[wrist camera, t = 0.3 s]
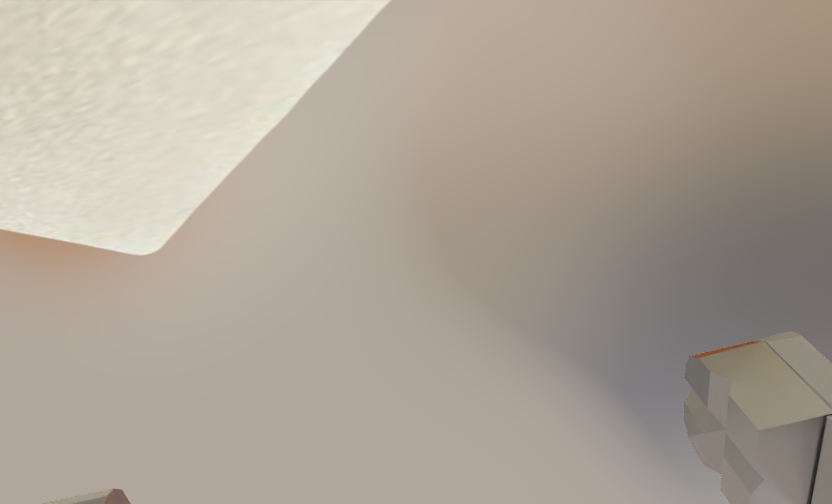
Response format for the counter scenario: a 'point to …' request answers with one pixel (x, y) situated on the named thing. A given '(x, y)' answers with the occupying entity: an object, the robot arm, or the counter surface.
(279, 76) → the counter surface
